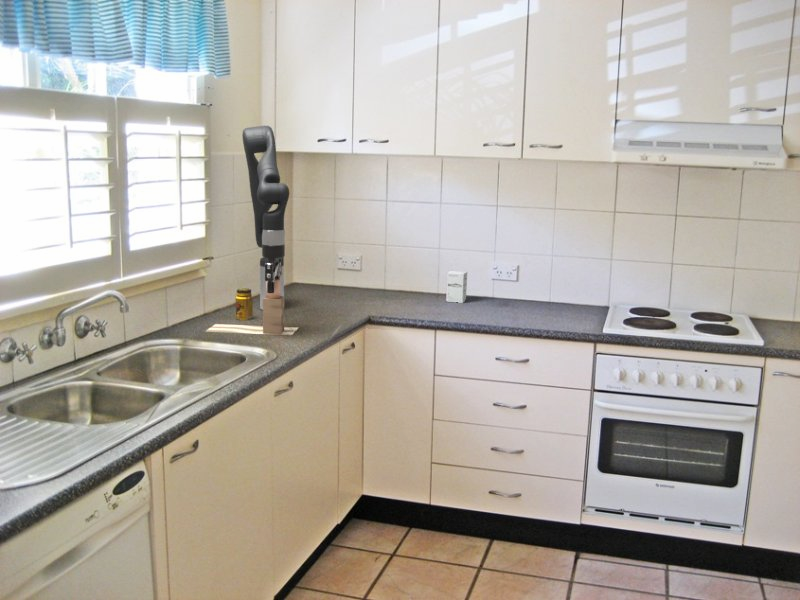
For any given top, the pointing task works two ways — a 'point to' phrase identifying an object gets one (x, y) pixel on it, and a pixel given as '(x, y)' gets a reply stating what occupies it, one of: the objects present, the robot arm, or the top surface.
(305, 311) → the top surface
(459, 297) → the supplement box
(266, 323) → the walnut block bottom
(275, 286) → the terracotta capsule
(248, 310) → the condiment
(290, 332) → the birch board
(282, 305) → the walnut block top
